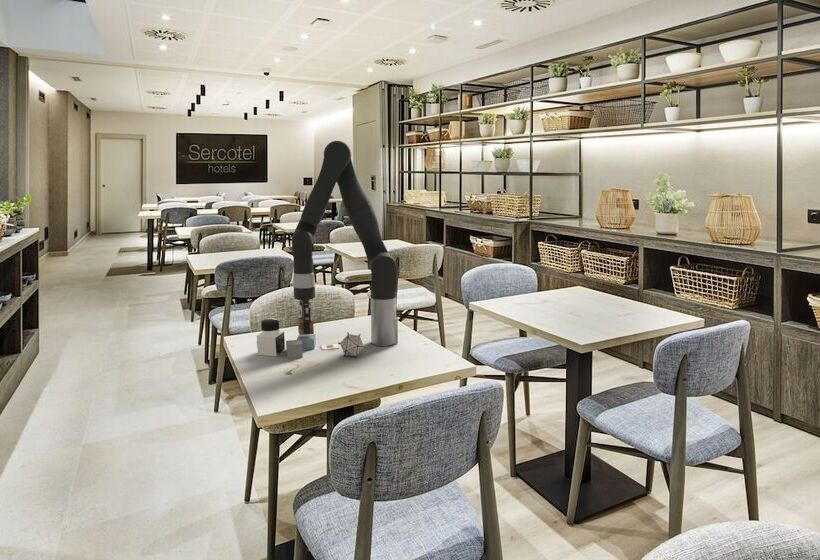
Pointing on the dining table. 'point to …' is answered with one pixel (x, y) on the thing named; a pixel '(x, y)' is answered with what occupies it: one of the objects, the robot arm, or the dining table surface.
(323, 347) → the card
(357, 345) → the grey icosahedron
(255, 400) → the dining table surface
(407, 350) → the dining table surface
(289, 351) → the gray block
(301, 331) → the walnut block
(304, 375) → the dining table surface
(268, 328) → the medicine bottle
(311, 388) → the dining table surface
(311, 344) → the base block
